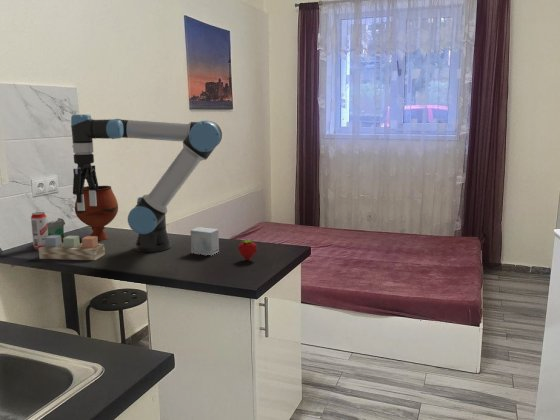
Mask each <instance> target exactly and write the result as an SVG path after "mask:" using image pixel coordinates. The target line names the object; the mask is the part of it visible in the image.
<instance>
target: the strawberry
mask: <svg viewBox="0 0 560 420" xmlns="http://www.w3.org/2000/svg"><path fill="white" fill-rule="evenodd" d="M257 249H258V246H257V244H256V243H255V242H254V241H253V240H250V239H249V240H247V239H245V240H240V243H239V244H238V252H239V253H240V254H241V256H242V257H243V258H244V259H245V260H246V261H250V260H251V258H253V256H254V255H255V254H256V252H257Z"/></svg>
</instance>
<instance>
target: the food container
mask: <svg viewBox="0 0 560 420" xmlns="http://www.w3.org/2000/svg"><path fill="white" fill-rule="evenodd" d="M65 225H66V222H65V220H64V218H60V217H59V218H57V220H55V221H53V220H52V221H50V222H47V227H48V236H50V235H61V241H62V243H63V238H65V232H64V231H65V230H64V229H65Z"/></svg>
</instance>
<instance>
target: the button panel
mask: <svg viewBox="0 0 560 420" xmlns="http://www.w3.org/2000/svg"><path fill="white" fill-rule="evenodd" d="M38 255H39V256H38V257H39V260H75V261H77V260H78V261H97V260H98V259H100V258H101V257H103V256H104V255H106V249H105V243H98V246H97V247H95V248H93V249H92V248H82V242H81V243H80V245H79V246H77V247H75V248H64V244H63V242H62V245H60V246H58V247H56V248H55V247H45V245H44V246H42V247H40V248H39V250H38Z"/></svg>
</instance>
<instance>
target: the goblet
mask: <svg viewBox="0 0 560 420" xmlns="http://www.w3.org/2000/svg"><path fill="white" fill-rule="evenodd" d="M89 190H90V188H89V186H88V185H87V186H84V188H83V193H82V194H84V205H85V211H78V210H77V198H75V202H74V213H75V215H76V217H77V218H78V219H79V220H80V221H81V222H82V223H84V224H85V225H87V226H89V227H91V230H92V233H91V234H90V235H89V236H97V237H98V241H104V240H107V239H108V238H109V236H108V235H107V234H106V232H105V231H104V230H105V227H106V226H107V225H109V224H110V223H111V222H113V220H114V219H115V217H116V216H117V214H118V212H119V211H118V210H119V203H118V199H117V198H116V196H115V194H114V192H113V189H112V186H111V185H98V190H96V201H97V206H90V201H89Z"/></svg>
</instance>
